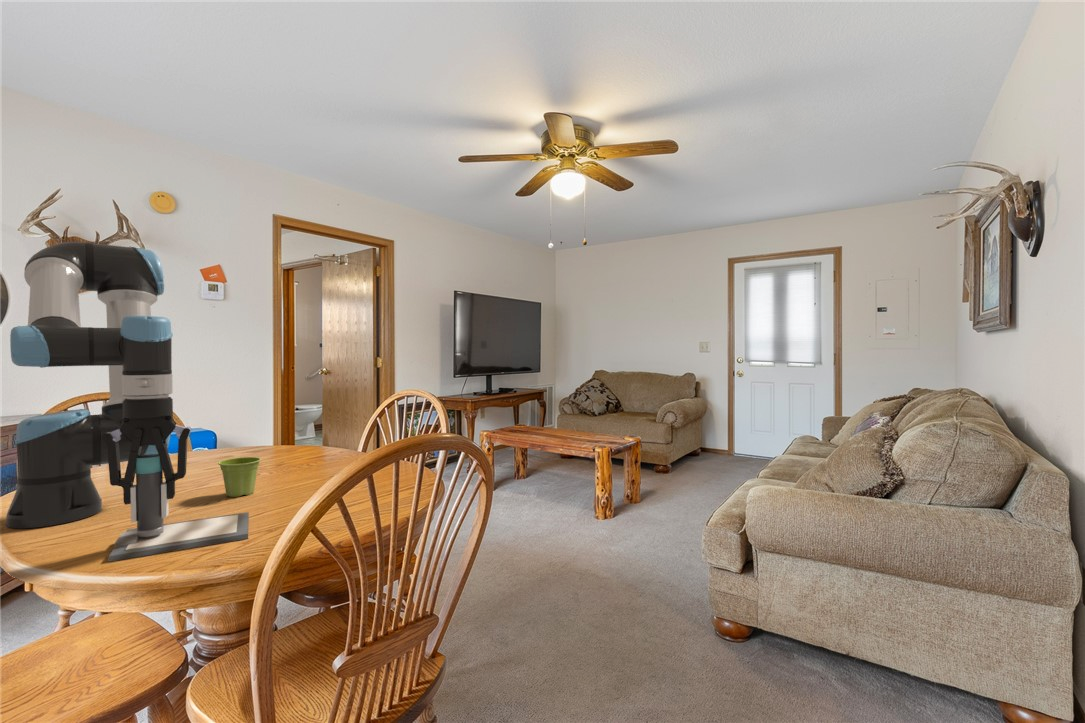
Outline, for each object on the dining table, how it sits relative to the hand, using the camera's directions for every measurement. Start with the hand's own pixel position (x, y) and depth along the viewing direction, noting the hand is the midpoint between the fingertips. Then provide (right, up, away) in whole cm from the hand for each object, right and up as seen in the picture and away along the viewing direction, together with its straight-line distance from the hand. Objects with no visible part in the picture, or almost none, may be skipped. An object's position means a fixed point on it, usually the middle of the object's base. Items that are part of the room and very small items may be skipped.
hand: (150, 517), depth 95 cm
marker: (0, -3, 0) cm, 3 cm away
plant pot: (-2, -4, +32) cm, 33 cm away
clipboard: (+5, -5, +3) cm, 7 cm away
